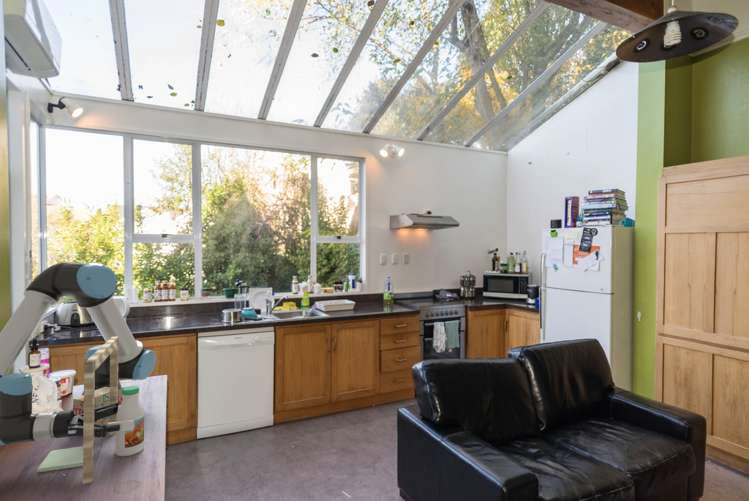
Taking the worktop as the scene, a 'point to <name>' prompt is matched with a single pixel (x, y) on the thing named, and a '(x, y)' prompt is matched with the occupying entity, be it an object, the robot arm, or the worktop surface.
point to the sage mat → (62, 459)
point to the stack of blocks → (97, 402)
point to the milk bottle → (133, 410)
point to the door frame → (89, 394)
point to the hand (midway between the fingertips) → (137, 415)
